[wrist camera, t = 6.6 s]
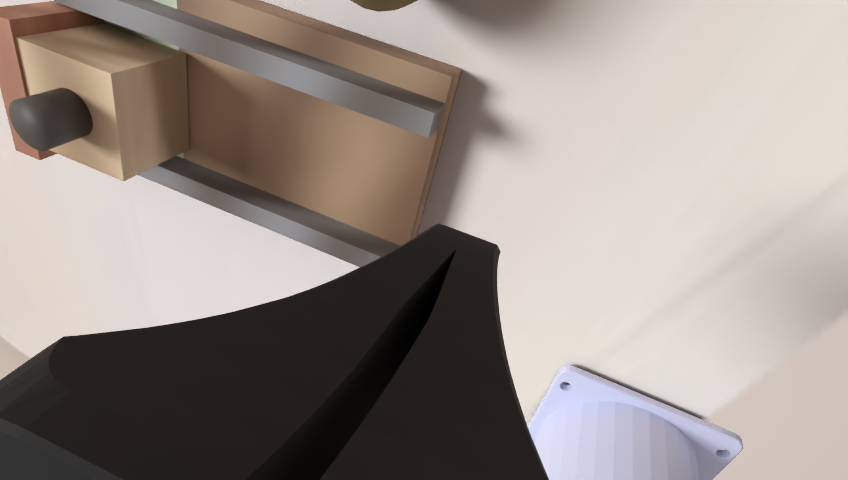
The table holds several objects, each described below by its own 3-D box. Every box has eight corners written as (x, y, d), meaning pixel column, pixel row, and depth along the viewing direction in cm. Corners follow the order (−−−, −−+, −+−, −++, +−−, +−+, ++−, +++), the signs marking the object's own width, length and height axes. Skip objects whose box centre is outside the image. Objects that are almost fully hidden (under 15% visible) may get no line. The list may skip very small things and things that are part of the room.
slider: (185, 53, 20) (68, 85, 16) (189, 149, 23) (87, 198, 18) (102, 23, 21) (-33, 45, 17) (114, 119, 23) (-1, 160, 19)
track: (461, 69, 18) (413, 107, 14) (408, 267, 23) (361, 337, 19) (92, -56, 21) (-40, -54, 17) (117, 148, 26) (22, 188, 22)
